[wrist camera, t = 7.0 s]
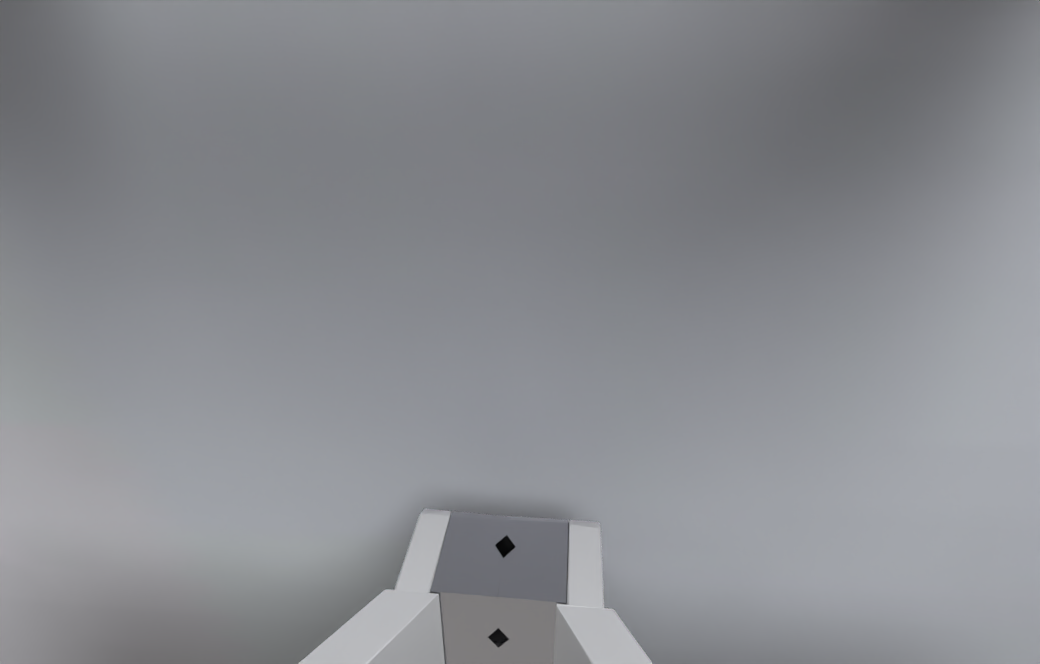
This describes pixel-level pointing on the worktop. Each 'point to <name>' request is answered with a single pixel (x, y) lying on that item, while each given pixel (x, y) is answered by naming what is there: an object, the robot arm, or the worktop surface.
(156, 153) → the worktop surface
